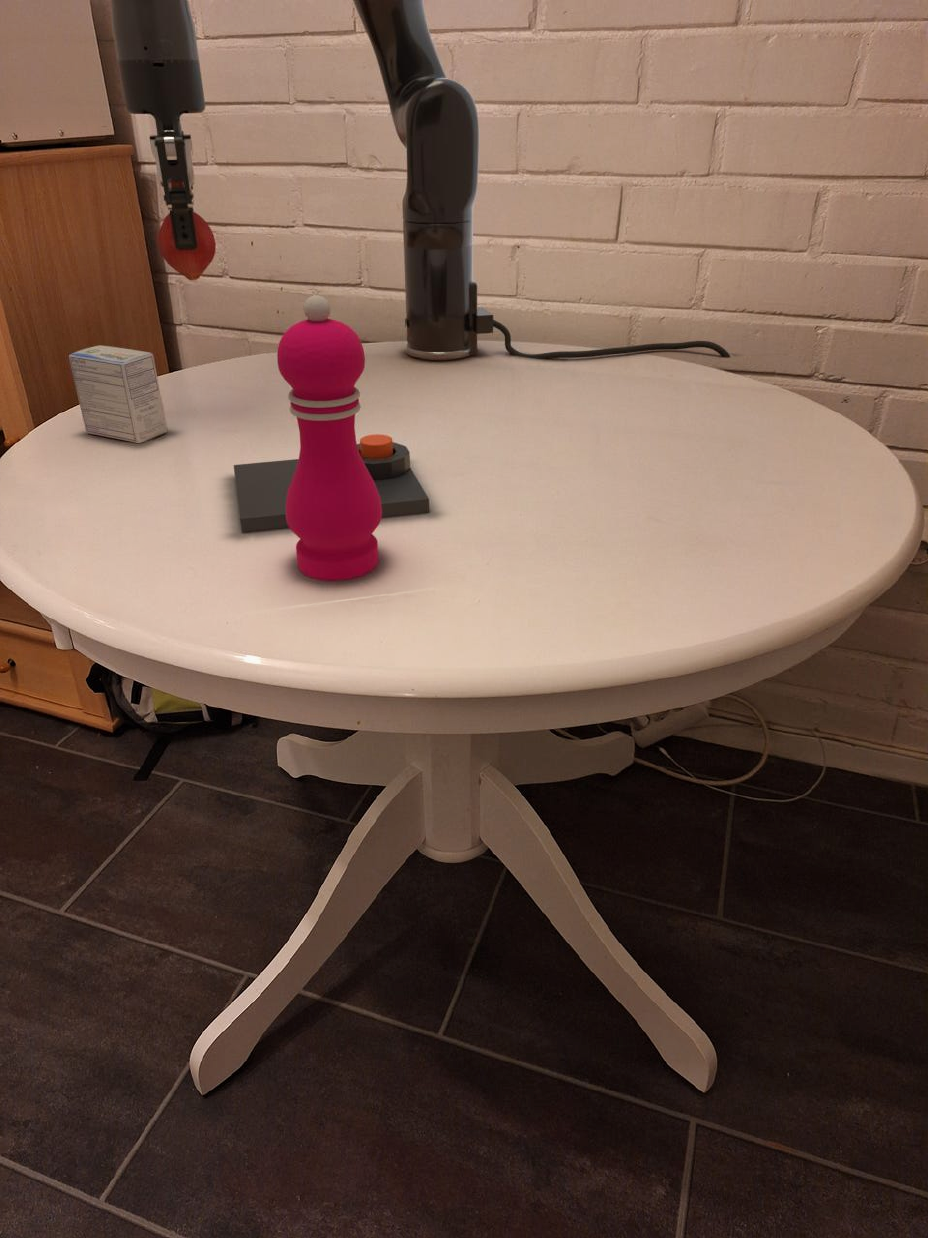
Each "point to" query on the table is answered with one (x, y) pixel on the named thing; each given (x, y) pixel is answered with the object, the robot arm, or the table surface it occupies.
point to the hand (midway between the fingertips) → (187, 244)
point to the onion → (188, 260)
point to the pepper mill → (328, 449)
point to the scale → (270, 481)
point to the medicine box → (118, 393)
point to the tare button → (376, 446)
